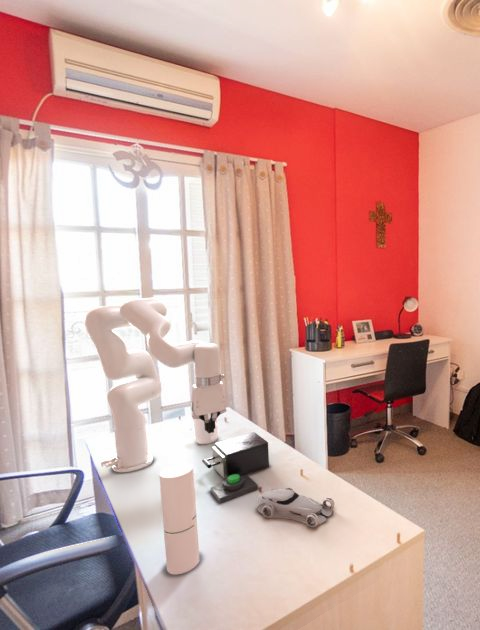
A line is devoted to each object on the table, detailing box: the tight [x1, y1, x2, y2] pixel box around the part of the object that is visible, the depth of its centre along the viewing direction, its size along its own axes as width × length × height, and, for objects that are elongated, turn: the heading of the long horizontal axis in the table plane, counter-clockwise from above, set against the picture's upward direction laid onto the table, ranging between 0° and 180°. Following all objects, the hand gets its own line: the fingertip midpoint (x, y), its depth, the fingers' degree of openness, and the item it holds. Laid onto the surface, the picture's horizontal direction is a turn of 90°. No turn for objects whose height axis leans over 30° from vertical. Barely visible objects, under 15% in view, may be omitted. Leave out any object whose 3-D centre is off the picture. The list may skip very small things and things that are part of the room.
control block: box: [210, 474, 259, 504], centre depth 138 cm, size 12×9×4 cm
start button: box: [228, 474, 240, 484], centre depth 138 cm, size 4×4×2 cm
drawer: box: [201, 445, 227, 480], centre depth 150 cm, size 18×11×8 cm, turn 134°
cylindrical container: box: [158, 462, 200, 575], centre depth 103 cm, size 7×7×25 cm
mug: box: [193, 413, 220, 445], centre depth 175 cm, size 12×9×11 cm
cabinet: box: [214, 431, 270, 479], centre depth 153 cm, size 15×13×10 cm
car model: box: [256, 487, 336, 528], centre depth 127 cm, size 11×24×5 cm, turn 71°
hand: (210, 431), depth 143 cm, fingers closed
